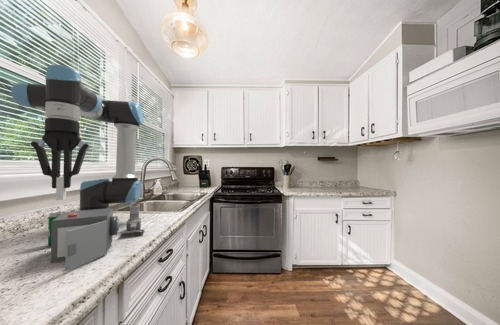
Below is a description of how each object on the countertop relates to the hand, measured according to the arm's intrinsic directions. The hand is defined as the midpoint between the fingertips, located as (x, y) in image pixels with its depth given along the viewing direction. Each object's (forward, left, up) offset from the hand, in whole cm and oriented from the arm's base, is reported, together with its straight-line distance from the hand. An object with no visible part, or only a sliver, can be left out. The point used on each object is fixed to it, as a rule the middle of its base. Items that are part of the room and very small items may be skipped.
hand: (61, 199), depth 58 cm
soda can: (-24, -7, -20) cm, 32 cm away
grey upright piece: (-27, +18, -20) cm, 38 cm away
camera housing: (-12, +5, -20) cm, 24 cm away
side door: (0, +7, -20) cm, 21 cm away
